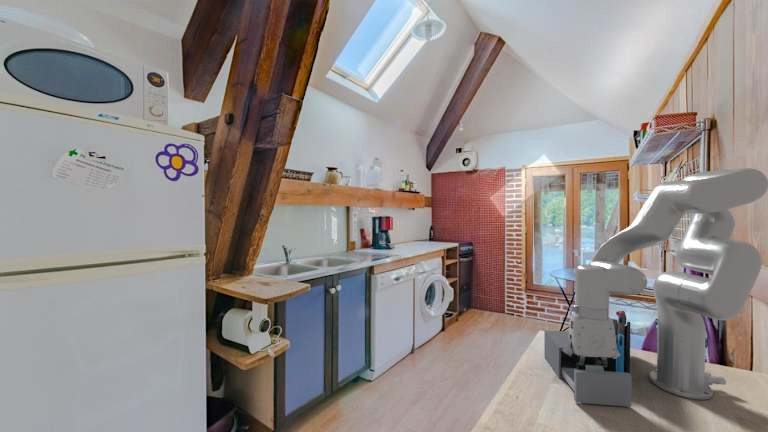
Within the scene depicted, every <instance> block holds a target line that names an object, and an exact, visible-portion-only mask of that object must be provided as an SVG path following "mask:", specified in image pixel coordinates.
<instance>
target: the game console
mask: <svg viewBox="0 0 768 432" xmlns="http://www.w3.org/2000/svg"><path fill="white" fill-rule="evenodd" d="M615 314H616V315H617V317H618V319H616V318H615V319H614V318H611V319H612V320H613V324H614V329H615V335H616V347H617V350H618V352H619V353H620V356H619V357H617V358H615V359H613V360H612V361H611V362H610V363H609V364H608V366H607V367H606V370H605V371H608V372H625V373H629V374H631V321H627V315H626V312H625V311H624V310H619V311H616V312H615Z"/></svg>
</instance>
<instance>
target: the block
mask: <svg viewBox="0 0 768 432" xmlns="http://www.w3.org/2000/svg"><path fill="white" fill-rule="evenodd" d="M585 366H586V368H585V370H591V371H604V369H603V366H593V365H585Z"/></svg>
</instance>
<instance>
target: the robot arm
mask: <svg viewBox="0 0 768 432" xmlns="http://www.w3.org/2000/svg"><path fill="white" fill-rule="evenodd" d="M767 192H768V177H767V176H766V174H764V173H763V172H762V171H760V170H758V169H756V168H755V169H754V168H749V167H748V168H746V167H745V168H744V167H742V168H731V169H723V170H709V171H701V172H700V171H699V172H695V173H691V174H689V175H686V176H684V178H683V179H682V180H671V181H665V182H662V183H659V184H658V185H656V186H655V187H654V188H653V189H652V190H651V193H650V194H649V195H648V197H647V198H646V200H645V202H643V205H642V207H641V208H640V209H639V211H638V213H637V214H636V216H635V217H634V218H633V220H632V222H631V223H630V225H629V226H627V227H626V228H625V229H623V230H621V231H619V232H618V233H616V234H615V235H613V236H611V237H610V238H609V239H607V240H606V241H605V242H603V244H601V246H600V247H599V248H598V249H597V250H596V252H595V254H594V256H592V258H591V259H590V261H589V264H588V263H587V264H580V265H578V266H576V267H575V273H574V274H575V277H574V278H575V288H574V291H575V293H574V294H575V297H574V303H573V304H574V305H573V306H570V305H569V311H570V312H572V314H571V319H570V323H569V330H568V331H569V340H568V343H567V344H566V345H565V347H564V348H563V351H564V353H566V354H567V355H569V356H571V357H572V358H573V359H574V360H575V361H576V370H585V368H586V366H585V365H584V361H585V356H587V357H597V359H598V361H596V362H595V366H603V369H604V371H605V370H606V367H607V366H608V364H609V363H610V362H611V361H612V360H613V359H615V358H617V357H619V356H620V353H619V352H618V350H617V347H616V335H615V329H614V324H613V320H612V319H613V318H611V317H610V295H612V294H613V295H620V296H621V295H622V296H635V295H639V294H641V293H642V292H644V291H645V289H646V288H647V287H648V286H647V285H648V279H647V276H646V275H645V273H644V272H643V271H642V270H640V269H638V268H636V267H633V266H629V265H626V264H621V261H622V260H623V259H624V258H625V257H627V256H628V255H630V254H632V253H634V252H636V251H639V250H643V249H648V248H651V247H655V246H658V245H662V244H664V243H666V242H667V241H668V240H669V239H670V237H671V235H672V234H673V232H674V230H675V229H676V228H677V226H678V225H679V223H680V221H681V220H682V218H683V217H684V215H685V214H690V219H689V223H688V225H687V227H686V228H685V229H686V230H685V232H684V234H683V236H682V238H681V241H680V243H679V245H678V246H677V250H676V252H675V261H676V263H677V264H678V265H679V266H680V267H682V268H685V269H688V270H691V271H695V272H699V273H703V274H708V275H711V278H708V277H705V276H701V275H696V274H691V273H688V272H687V273H686V272H683V271H665V272H663V273H661V274H659V275H657V277H655V279H654V282H653V285H652V286H653V289H652V290H653V295H654V298H655V303H656V309H657V310H656V311H657V332H656V333H657V338H656V339H657V340H656V341H657V343H656V348H657V349H656V369H655V370H652V371H650V372H649V379H650V381H651V382H652V383H653V384H654V385H655V386H657V387H658V388H660V389H662V390H664V391H666V392H668V393H671V394H674V395H676V396H680V397H683V398H687V399H692V400H699V401H700V400H708V399H711V398H712V397H713V395H714V393H713V392H714V391H713V389H712V387H710V386H712V385H724V386H725V385H727V381H726V379H725V378H724V377H723V376H717V375H716V376H715V375H713V376H712V373H710V372H706V369H705V368H706V335H707V330H706V329H707V328H706V324H705V321H704V318H703V317H706V318H710V319H713V320H717V321H729V320H732V319H734V318H736V317H738V315H739V314H740V313H741V311H742V310H743V309H744V306H745V305H746V303H747V300H748V298H749V296H750V294H751V292H752V290H753V288H754V286H755V283H756V281H757V279H758V277H759V276H760V275H759V274H760V272H761V269H762V262H763V261H762V255H761V253H760V251H759V249H758V248H757V247H755V246H754V245H752V244H751V243H749V242H746V241H742V240H736V239H735V240H734V239H731V237H732V234H733V232H734V230H735V226H736V221H735V218H734V216H733V214H732V213H731V211H730V209H734V208H737V207H742V206H744V205H748V204H751V203H754V202H756V201H758V200H759V199H761V198H762V197H763V196H765V194H766V193H767ZM572 349H573V351H574V352H575V353H574V352H572V351H571V350H572Z"/></svg>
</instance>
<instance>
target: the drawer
mask: <svg viewBox="0 0 768 432" xmlns="http://www.w3.org/2000/svg"><path fill="white" fill-rule="evenodd" d="M561 374H562V375H563V377H564V378H565V379H564V380H565V381H566V383H568V385H569V386H570V387H571V389H572V391H573V401H575V403H576V404H577V403H579V404H592V405H604V406H614V407H615V406H616V407H617V406H618V407H629V408H630V407H632V378H633V377H632V374H631V373H630V374H629V373H625V372H608V371H591V370H576V368H563V367H561Z"/></svg>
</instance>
